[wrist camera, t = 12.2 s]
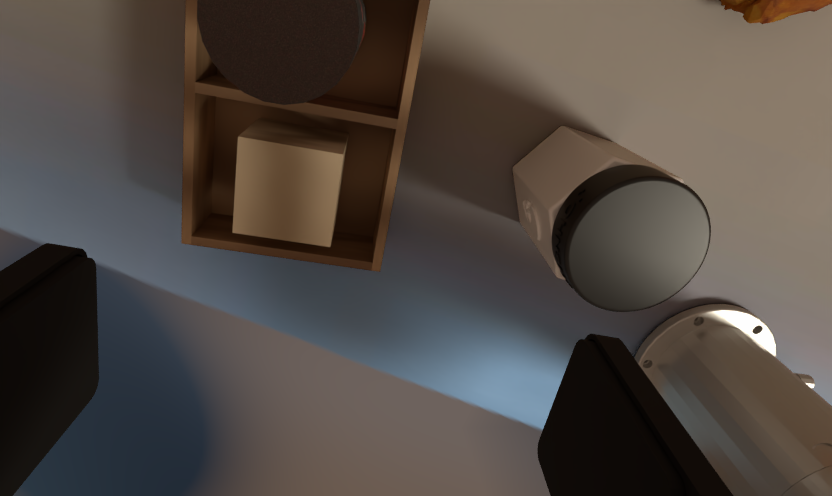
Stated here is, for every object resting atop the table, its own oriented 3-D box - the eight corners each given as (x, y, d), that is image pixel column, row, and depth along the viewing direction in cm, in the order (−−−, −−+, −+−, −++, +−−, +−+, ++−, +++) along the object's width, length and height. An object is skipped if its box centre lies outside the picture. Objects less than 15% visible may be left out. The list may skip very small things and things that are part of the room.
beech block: (348, 133, 36) (343, 154, 31) (337, 214, 38) (330, 247, 33) (259, 117, 35) (238, 136, 30) (253, 200, 38) (232, 232, 32)
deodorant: (274, 65, 34) (206, 101, 20) (268, -39, 32) (186, -76, 18) (366, 69, 35) (359, 107, 21) (367, -33, 32) (360, -65, 18)
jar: (504, 137, 38) (555, 188, 27) (616, 112, 37) (714, 152, 26) (520, 248, 41) (571, 333, 30) (622, 226, 41) (711, 303, 30)
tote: (216, -100, 31) (187, -120, 26) (432, -50, 32) (441, -60, 28) (204, 216, 39) (181, 243, 34) (379, 242, 40) (380, 271, 36)
